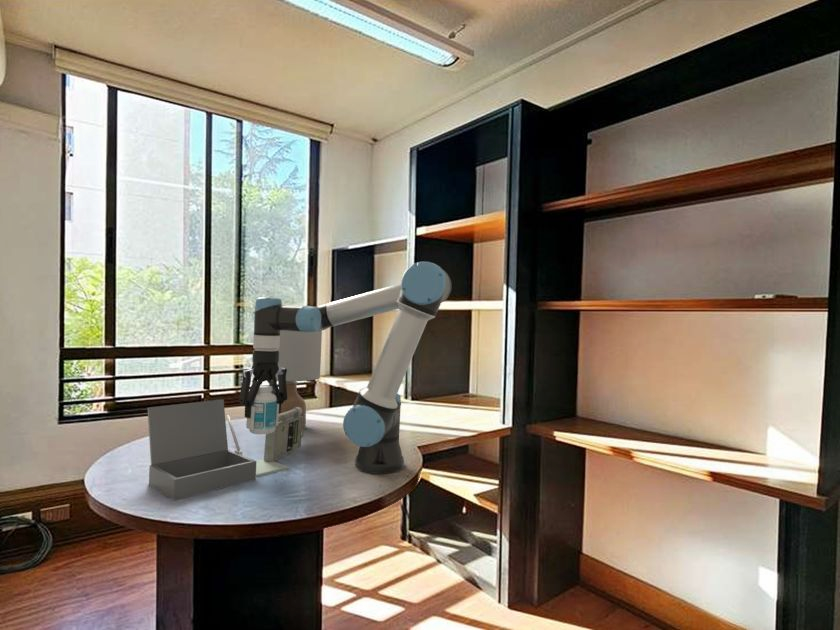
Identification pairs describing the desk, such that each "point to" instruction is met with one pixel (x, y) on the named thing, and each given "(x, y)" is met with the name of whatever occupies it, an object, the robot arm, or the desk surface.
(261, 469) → the mat
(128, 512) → the desk surface
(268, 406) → the pill bottle
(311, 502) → the desk surface
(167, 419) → the case
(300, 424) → the geiger counter
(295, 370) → the lamp
